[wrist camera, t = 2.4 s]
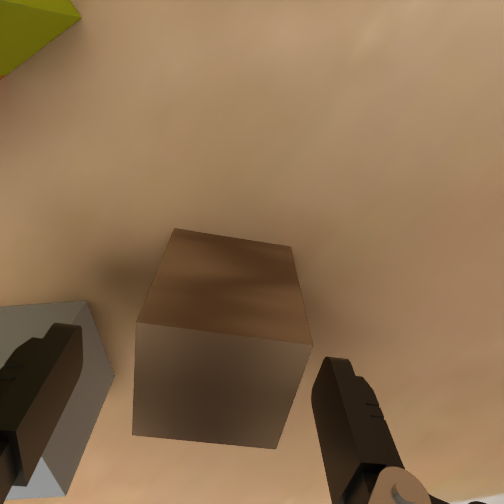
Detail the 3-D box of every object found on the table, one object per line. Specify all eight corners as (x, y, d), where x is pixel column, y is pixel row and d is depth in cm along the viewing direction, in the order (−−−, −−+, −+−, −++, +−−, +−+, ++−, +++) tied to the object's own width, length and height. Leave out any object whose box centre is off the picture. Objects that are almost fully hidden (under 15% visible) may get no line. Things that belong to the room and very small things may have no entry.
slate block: (86, 299, 17) (14, 412, 11) (114, 375, 19) (65, 496, 14) (-19, 307, 17) (-138, 422, 12) (23, 381, 19) (-60, 503, 14)
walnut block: (290, 246, 16) (313, 345, 10) (267, 333, 18) (275, 449, 13) (174, 227, 15) (136, 322, 10) (166, 319, 17) (132, 435, 12)
